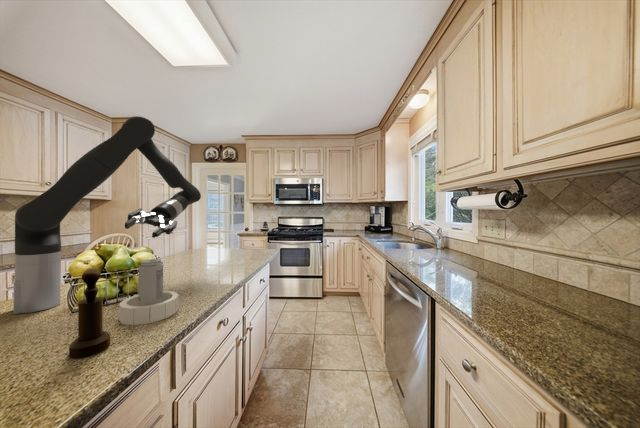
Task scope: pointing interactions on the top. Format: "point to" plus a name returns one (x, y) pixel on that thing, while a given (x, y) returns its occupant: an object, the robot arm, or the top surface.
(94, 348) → the dark brown wooden stand
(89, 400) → the top surface
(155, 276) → the energy drink can
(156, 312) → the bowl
